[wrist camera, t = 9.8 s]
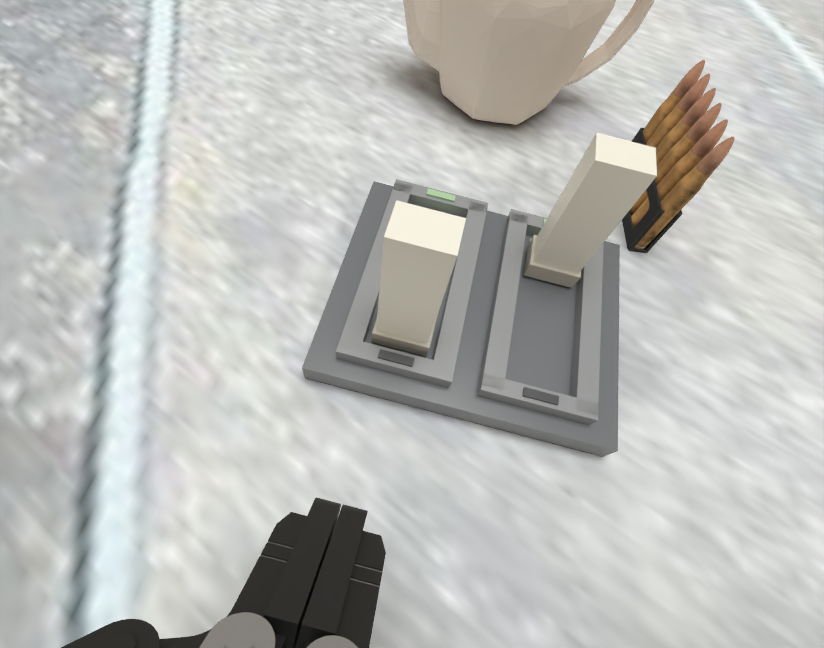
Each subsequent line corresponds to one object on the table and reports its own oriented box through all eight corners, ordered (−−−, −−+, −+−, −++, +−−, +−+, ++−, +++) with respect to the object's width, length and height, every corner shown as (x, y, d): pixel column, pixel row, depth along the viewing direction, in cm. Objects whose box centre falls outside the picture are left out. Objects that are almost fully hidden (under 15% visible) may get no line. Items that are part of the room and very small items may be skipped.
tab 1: (435, 320, 32) (471, 214, 22) (426, 356, 31) (460, 262, 21) (382, 306, 32) (393, 194, 22) (371, 342, 31) (378, 240, 21)
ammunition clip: (612, 167, 45) (690, 51, 35) (629, 170, 45) (712, 55, 35) (627, 250, 40) (724, 145, 30) (647, 253, 40) (750, 148, 30)
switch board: (607, 258, 40) (628, 234, 37) (602, 456, 31) (629, 446, 28) (373, 197, 40) (374, 169, 37) (305, 377, 31) (299, 360, 28)
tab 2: (574, 258, 36) (658, 145, 26) (572, 287, 35) (660, 180, 25) (527, 246, 36) (593, 128, 26) (523, 275, 35) (591, 162, 25)
